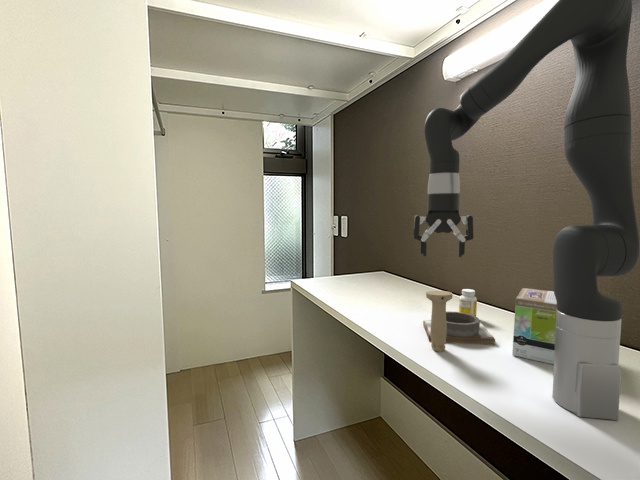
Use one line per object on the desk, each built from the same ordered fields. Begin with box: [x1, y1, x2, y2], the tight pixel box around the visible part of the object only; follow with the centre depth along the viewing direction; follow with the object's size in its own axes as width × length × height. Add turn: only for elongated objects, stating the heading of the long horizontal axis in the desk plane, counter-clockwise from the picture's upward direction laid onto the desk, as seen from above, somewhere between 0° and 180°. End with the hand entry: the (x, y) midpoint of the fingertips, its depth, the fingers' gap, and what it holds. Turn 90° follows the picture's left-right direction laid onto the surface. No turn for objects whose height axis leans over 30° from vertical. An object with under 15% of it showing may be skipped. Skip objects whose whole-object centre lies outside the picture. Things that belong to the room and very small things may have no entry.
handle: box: [425, 290, 453, 352], centre depth 87 cm, size 5×6×15 cm
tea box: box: [512, 287, 557, 365], centre depth 86 cm, size 15×10×15 cm
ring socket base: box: [422, 310, 496, 345], centre depth 98 cm, size 13×17×5 cm
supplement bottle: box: [458, 288, 478, 317], centre depth 112 cm, size 5×5×10 cm
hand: (441, 256), depth 86 cm, fingers open, 8 cm apart
